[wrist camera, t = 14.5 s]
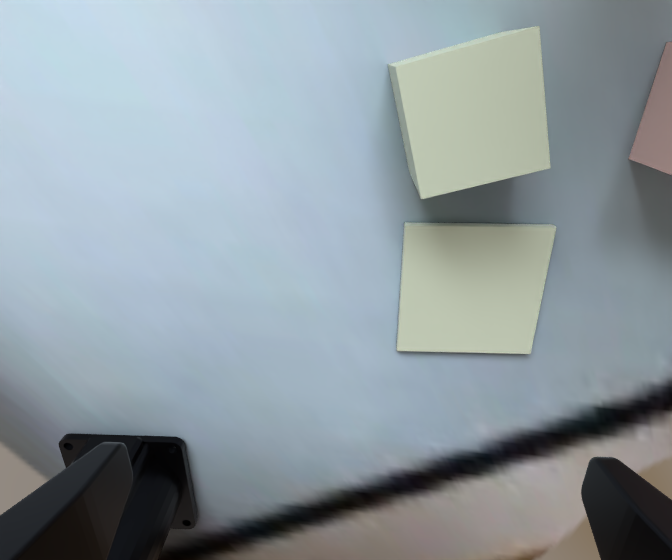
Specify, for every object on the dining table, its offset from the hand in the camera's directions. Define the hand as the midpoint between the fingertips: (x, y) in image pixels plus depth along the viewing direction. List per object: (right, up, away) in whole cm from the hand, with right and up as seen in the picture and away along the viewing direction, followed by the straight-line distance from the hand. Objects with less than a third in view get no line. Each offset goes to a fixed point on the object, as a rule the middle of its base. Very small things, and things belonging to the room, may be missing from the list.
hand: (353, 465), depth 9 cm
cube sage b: (+4, +10, +8) cm, 14 cm away
